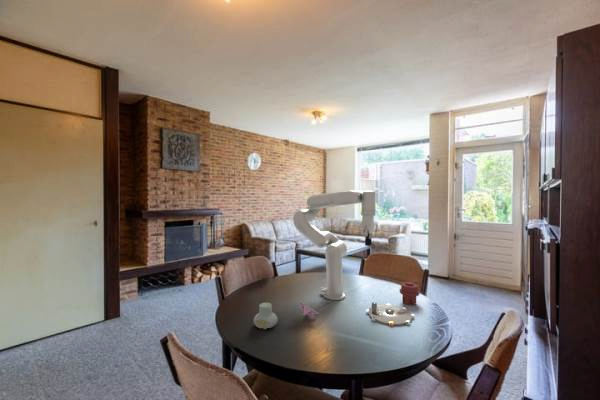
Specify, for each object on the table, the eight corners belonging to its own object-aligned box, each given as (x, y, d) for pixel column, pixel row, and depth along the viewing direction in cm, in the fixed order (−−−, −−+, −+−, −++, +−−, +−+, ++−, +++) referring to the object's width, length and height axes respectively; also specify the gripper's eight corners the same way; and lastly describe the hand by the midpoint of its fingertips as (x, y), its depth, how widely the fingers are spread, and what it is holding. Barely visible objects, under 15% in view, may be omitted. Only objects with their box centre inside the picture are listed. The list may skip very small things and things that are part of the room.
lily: (319, 328, 128) (324, 306, 131) (297, 321, 124) (302, 299, 128) (308, 325, 138) (313, 305, 142) (287, 319, 135) (293, 299, 139)
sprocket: (392, 330, 120) (392, 316, 120) (357, 312, 139) (357, 299, 139) (424, 319, 131) (424, 305, 131) (387, 303, 150) (387, 291, 150)
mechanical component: (417, 302, 155) (421, 309, 145) (398, 301, 157) (401, 308, 147) (417, 280, 154) (421, 286, 145) (398, 279, 156) (401, 285, 147)
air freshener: (279, 323, 130) (279, 302, 130) (273, 331, 122) (273, 309, 122) (258, 320, 133) (257, 300, 133) (251, 329, 125) (250, 307, 125)
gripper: (364, 211, 162) (364, 242, 162) (358, 213, 149) (358, 247, 149) (377, 212, 159) (377, 243, 159) (372, 213, 145) (372, 248, 146)
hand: (368, 245), depth 154 cm, fingers closed
